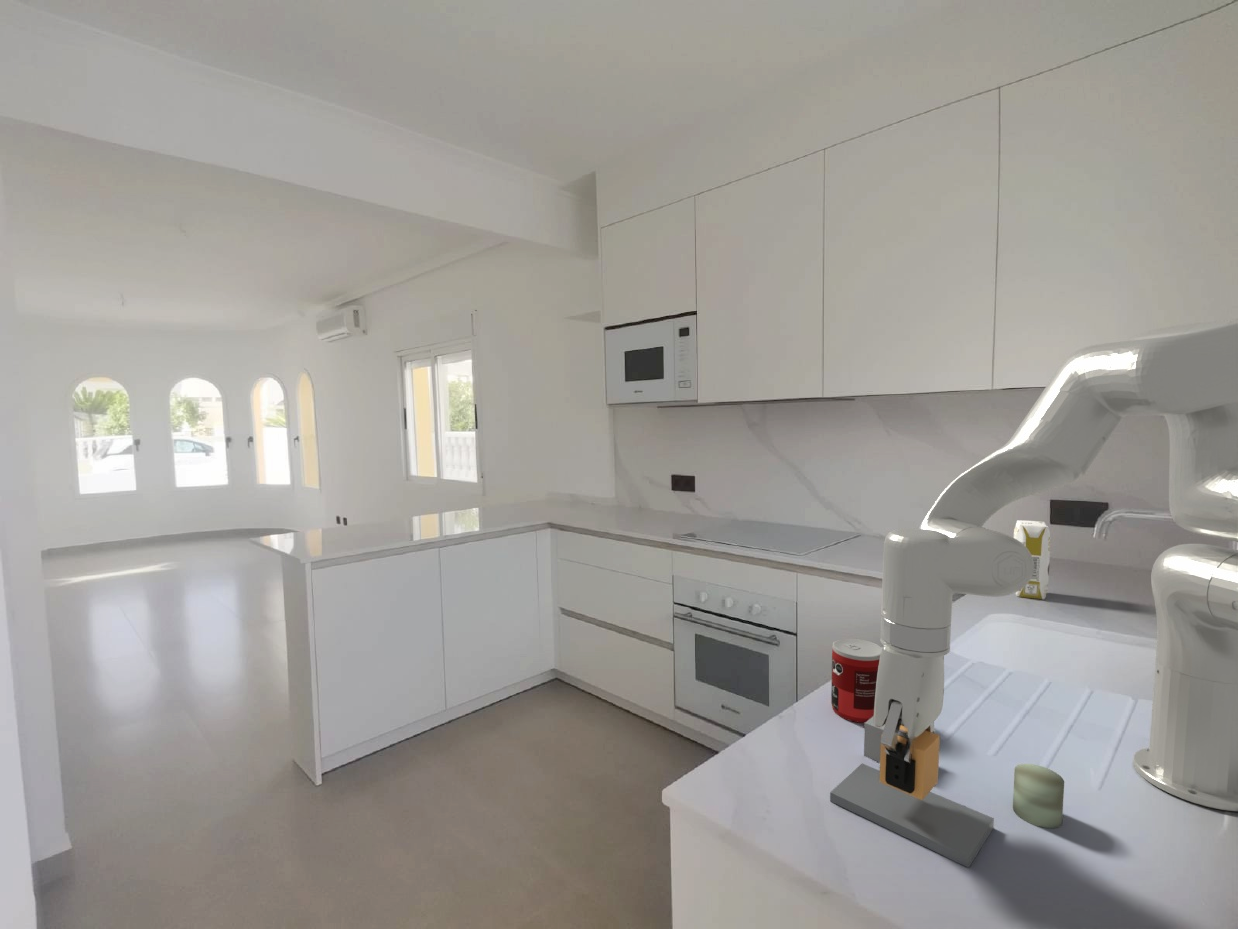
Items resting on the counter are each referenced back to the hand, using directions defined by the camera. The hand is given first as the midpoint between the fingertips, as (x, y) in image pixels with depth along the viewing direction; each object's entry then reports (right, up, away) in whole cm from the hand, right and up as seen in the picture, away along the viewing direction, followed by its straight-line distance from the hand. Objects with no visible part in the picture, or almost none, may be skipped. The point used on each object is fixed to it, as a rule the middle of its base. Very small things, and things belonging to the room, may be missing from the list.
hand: (909, 776), depth 75 cm
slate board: (0, -5, 0) cm, 5 cm away
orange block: (0, -1, 0) cm, 1 cm away
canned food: (+3, -3, +26) cm, 26 cm away
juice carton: (+72, +4, +86) cm, 112 cm away
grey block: (+3, -4, +13) cm, 14 cm away
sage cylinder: (+16, -5, 0) cm, 16 cm away
